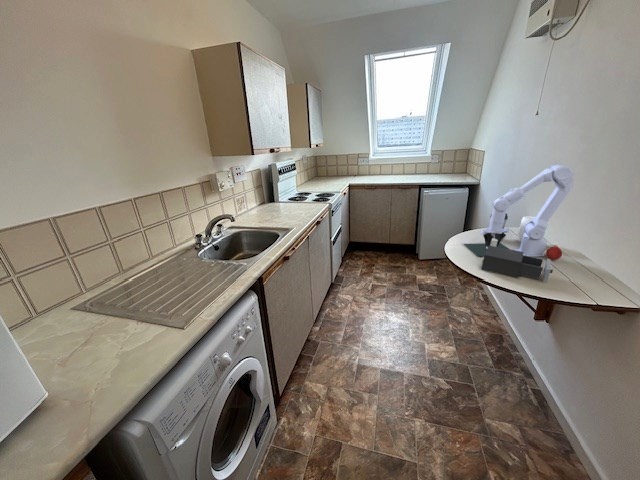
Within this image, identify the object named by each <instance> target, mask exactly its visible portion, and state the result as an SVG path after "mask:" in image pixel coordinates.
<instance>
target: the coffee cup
mask: <svg viewBox="0 0 640 480" xmlns="http://www.w3.org/2000/svg"><path fill="white" fill-rule="evenodd" d="M491 216H492V213H490V216H489V217H490V218H489V223H488V226H489V225H490V221H491ZM508 218H509V216H508V213H505V219H504V223H503V227H502V228H505V227H506V223H507V221H508ZM491 235H492V236H494V237H493V238H494V239H495V233H494V234H491Z"/></svg>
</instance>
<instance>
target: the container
mask: <svg viewBox="0 0 640 480" xmlns="http://www.w3.org/2000/svg"><path fill="white" fill-rule="evenodd" d="M497 242H498V240H497V239H494V238H492V240H491V243H490V246H494V247H496V246H497ZM486 248H487V249H488V247H487V246H486Z"/></svg>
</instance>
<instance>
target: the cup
mask: <svg viewBox="0 0 640 480" xmlns="http://www.w3.org/2000/svg"><path fill="white" fill-rule="evenodd" d="M535 217H536V216H530V215H525V216H523V217H522V219H521V221H520V224H519V228H518V233H517V238H516V241H518V242H520V243H521V242H522V239H523V235H524V234H525V230H524V226H525V225H526V224H527V223H529V222H530V221H531V220H532V219H533V218H535Z"/></svg>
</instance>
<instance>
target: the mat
mask: <svg viewBox="0 0 640 480" xmlns="http://www.w3.org/2000/svg"><path fill="white" fill-rule="evenodd" d="M463 246H465V247H466V248H467V249H468V250H470V251H471V252H472V253H473V254H474V255H475V256H477V257H478V258H484V255H485V253H486V251H487V248H486V246H485V243H463ZM496 247H500V248H505V249H510V248H509V247H507V246H506V245H504V244H502V243H501V242H500V243H499V245H498V246H496Z"/></svg>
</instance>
